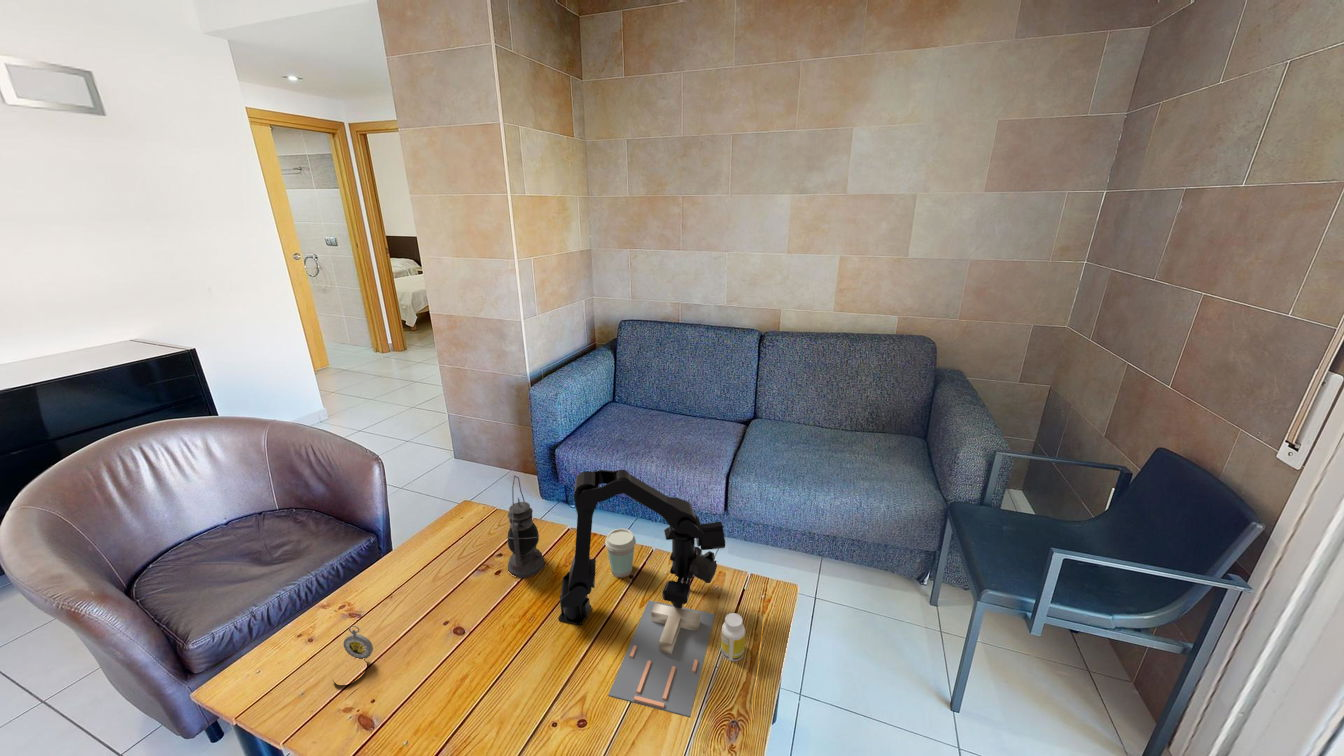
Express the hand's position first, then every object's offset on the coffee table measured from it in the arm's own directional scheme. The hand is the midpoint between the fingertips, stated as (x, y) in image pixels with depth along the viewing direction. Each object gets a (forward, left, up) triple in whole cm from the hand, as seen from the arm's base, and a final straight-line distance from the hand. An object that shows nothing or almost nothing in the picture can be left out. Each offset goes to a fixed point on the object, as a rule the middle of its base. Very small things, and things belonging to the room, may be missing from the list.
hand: (683, 598), depth 130 cm
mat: (0, -16, -1) cm, 16 cm away
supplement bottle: (+15, -12, -2) cm, 19 cm away
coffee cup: (-20, +7, -2) cm, 21 cm away
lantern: (-48, +2, -2) cm, 48 cm away
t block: (0, -11, -1) cm, 11 cm away
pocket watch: (-67, -39, -2) cm, 78 cm away
